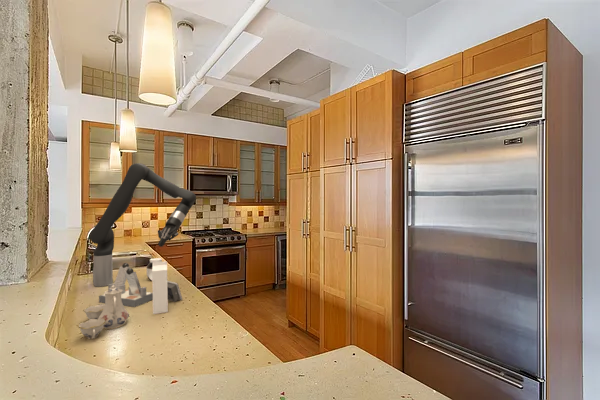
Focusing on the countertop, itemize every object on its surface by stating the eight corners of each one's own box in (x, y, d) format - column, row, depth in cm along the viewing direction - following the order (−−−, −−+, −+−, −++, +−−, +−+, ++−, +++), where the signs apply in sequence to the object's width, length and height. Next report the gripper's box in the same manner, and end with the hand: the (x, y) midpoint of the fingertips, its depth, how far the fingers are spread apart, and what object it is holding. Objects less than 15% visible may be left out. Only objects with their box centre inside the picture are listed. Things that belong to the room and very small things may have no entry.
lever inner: (110, 289, 157) (120, 261, 162) (115, 290, 160) (124, 263, 165) (118, 290, 155) (128, 262, 161) (123, 291, 158) (132, 263, 163)
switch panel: (99, 302, 153) (98, 287, 153) (120, 294, 165) (119, 280, 164) (135, 307, 146) (134, 291, 146) (154, 298, 158) (154, 284, 158)
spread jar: (160, 275, 203) (160, 257, 203) (170, 278, 197) (170, 259, 196) (141, 279, 194) (141, 260, 193) (151, 282, 187) (151, 262, 187)
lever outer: (130, 294, 153) (122, 270, 148) (135, 291, 155) (127, 266, 151) (139, 295, 151) (130, 270, 146) (143, 292, 154) (135, 267, 149)
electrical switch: (182, 300, 156) (181, 281, 155) (173, 304, 151) (171, 285, 151) (171, 296, 161) (169, 279, 160) (161, 300, 157) (159, 282, 156)
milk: (167, 312, 140) (167, 262, 139) (152, 314, 138) (152, 263, 137) (167, 307, 146) (167, 259, 145) (152, 309, 143) (152, 261, 143)
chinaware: (81, 323, 133) (75, 284, 131) (126, 310, 142) (121, 274, 141) (80, 350, 109) (73, 304, 108) (134, 333, 119) (128, 290, 117)
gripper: (162, 215, 178) (146, 240, 167) (182, 216, 174) (166, 242, 163) (169, 224, 183) (153, 249, 172) (188, 225, 179) (173, 250, 168)
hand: (160, 245), depth 167 cm, fingers closed
